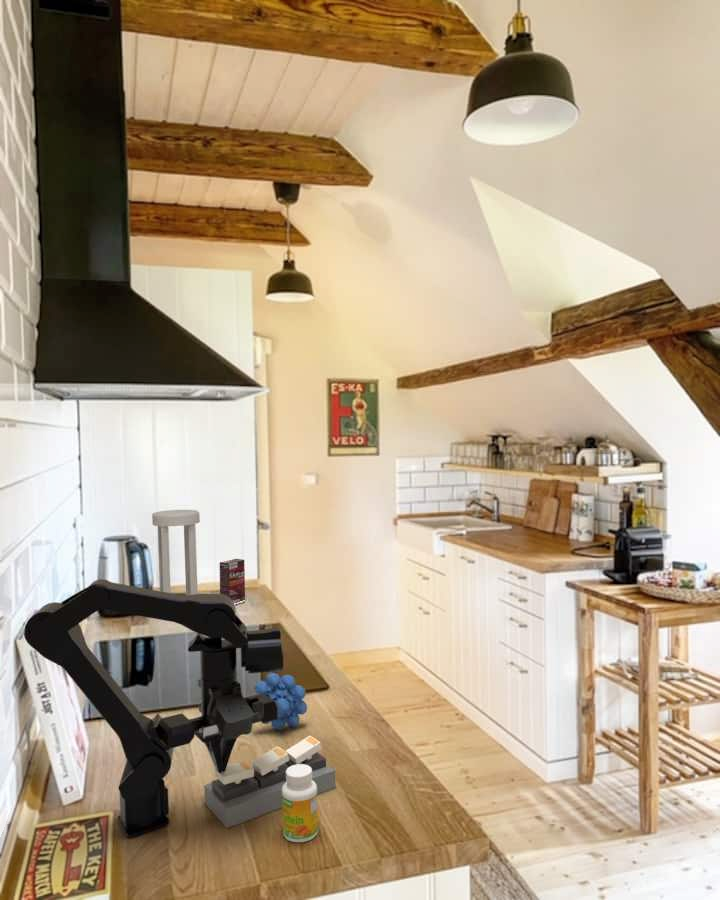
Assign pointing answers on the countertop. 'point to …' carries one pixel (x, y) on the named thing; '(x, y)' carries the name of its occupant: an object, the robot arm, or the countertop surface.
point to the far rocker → (304, 749)
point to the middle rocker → (270, 761)
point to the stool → (188, 521)
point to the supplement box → (233, 579)
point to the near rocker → (235, 773)
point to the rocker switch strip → (261, 792)
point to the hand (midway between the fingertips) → (220, 771)
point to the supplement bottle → (299, 804)
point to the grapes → (283, 698)
